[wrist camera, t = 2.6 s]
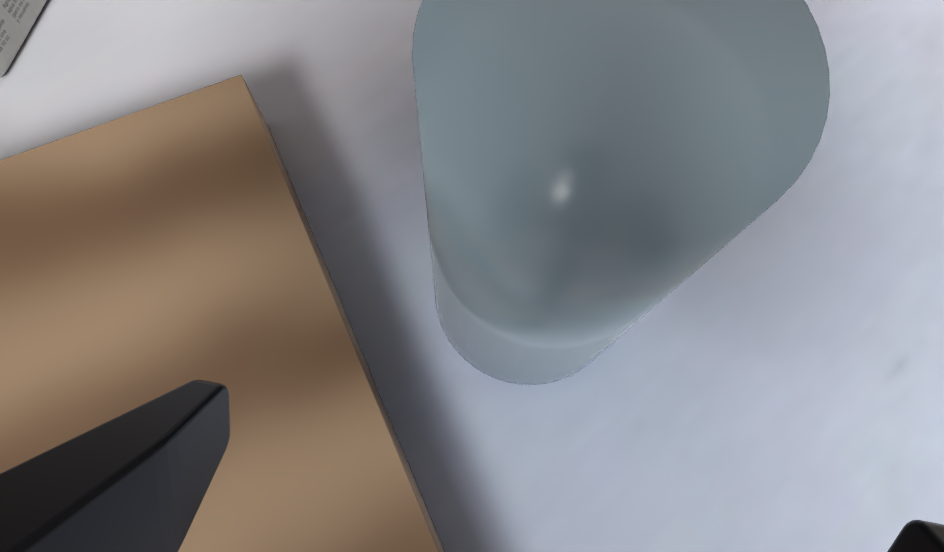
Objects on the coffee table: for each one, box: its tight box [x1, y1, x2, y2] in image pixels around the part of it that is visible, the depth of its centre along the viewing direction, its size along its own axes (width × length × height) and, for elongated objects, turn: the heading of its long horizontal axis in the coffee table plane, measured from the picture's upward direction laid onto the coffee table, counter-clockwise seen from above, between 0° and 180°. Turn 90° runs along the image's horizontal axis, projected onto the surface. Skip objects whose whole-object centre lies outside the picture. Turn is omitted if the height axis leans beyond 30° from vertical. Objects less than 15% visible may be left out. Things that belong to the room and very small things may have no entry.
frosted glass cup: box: [412, 0, 830, 385], centre depth 16 cm, size 6×6×13 cm
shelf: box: [0, 75, 445, 552], centre depth 16 cm, size 20×16×8 cm
